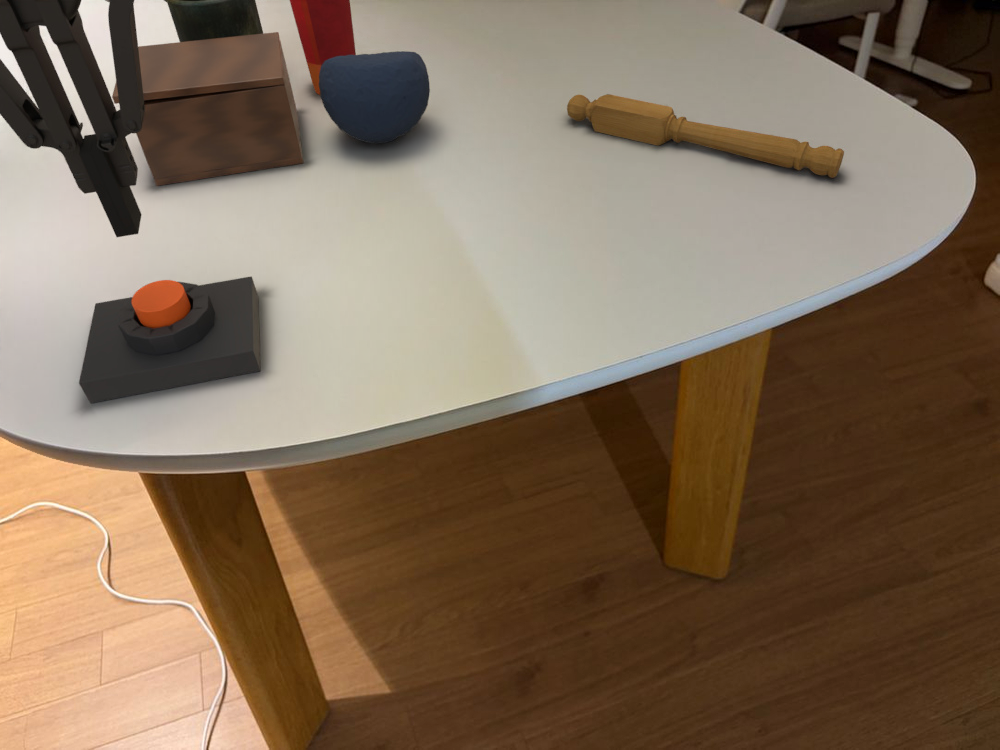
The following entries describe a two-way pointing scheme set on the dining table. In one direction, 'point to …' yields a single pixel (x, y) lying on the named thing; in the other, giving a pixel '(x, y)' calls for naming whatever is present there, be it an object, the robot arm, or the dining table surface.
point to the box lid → (210, 66)
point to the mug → (214, 18)
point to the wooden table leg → (698, 133)
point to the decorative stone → (375, 93)
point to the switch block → (173, 343)
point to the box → (221, 133)
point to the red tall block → (323, 32)
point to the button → (161, 303)
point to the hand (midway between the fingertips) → (129, 225)
